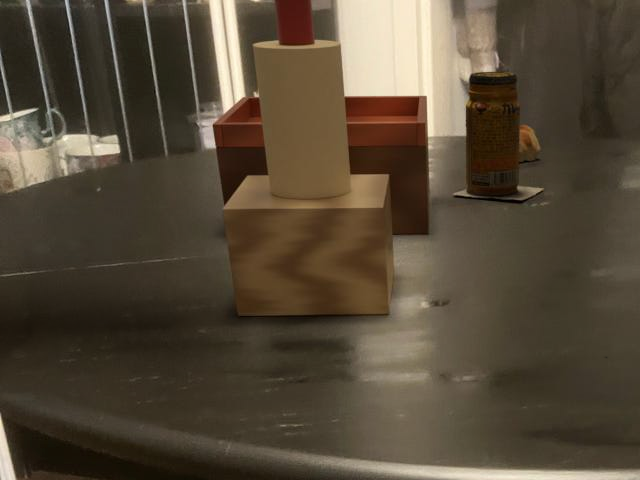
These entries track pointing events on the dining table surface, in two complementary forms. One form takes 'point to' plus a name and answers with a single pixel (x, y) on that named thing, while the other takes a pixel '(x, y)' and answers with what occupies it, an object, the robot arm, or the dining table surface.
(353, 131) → the tray stand
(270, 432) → the dining table surface
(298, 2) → the sauce bottle
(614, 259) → the dining table surface
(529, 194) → the condiment
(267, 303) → the birch block
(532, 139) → the pastry
